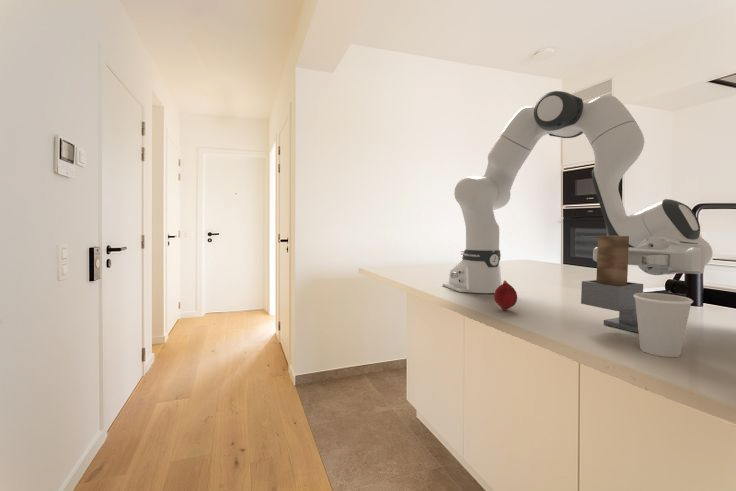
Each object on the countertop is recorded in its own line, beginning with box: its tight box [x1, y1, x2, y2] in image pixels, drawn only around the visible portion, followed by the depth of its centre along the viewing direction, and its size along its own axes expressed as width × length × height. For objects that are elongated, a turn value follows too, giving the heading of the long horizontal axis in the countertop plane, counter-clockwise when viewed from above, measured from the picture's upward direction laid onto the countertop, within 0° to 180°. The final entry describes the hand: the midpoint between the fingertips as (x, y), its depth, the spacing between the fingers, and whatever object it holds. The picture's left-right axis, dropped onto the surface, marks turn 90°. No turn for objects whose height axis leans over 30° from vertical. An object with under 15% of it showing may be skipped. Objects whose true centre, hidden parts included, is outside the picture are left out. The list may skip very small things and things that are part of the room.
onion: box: [493, 279, 518, 311], centre depth 99 cm, size 6×6×8 cm
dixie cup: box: [633, 292, 694, 358], centre depth 66 cm, size 8×8×10 cm
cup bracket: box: [580, 279, 644, 334], centre depth 81 cm, size 8×14×10 cm, turn 115°
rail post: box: [595, 235, 629, 286], centre depth 79 cm, size 4×4×14 cm
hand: (621, 258), depth 80 cm, fingers open, 8 cm apart
